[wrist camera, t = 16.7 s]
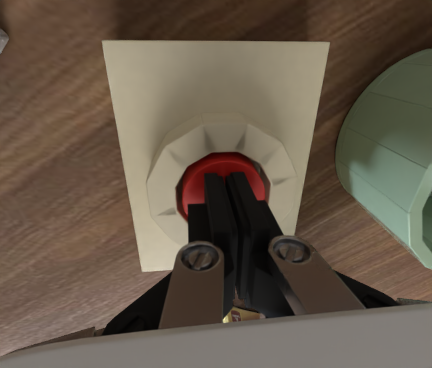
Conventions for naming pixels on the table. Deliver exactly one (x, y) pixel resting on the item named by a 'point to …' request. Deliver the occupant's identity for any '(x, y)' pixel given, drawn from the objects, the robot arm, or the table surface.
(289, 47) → the control block
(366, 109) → the holder
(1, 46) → the coffee box
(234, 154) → the button
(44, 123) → the table surface
